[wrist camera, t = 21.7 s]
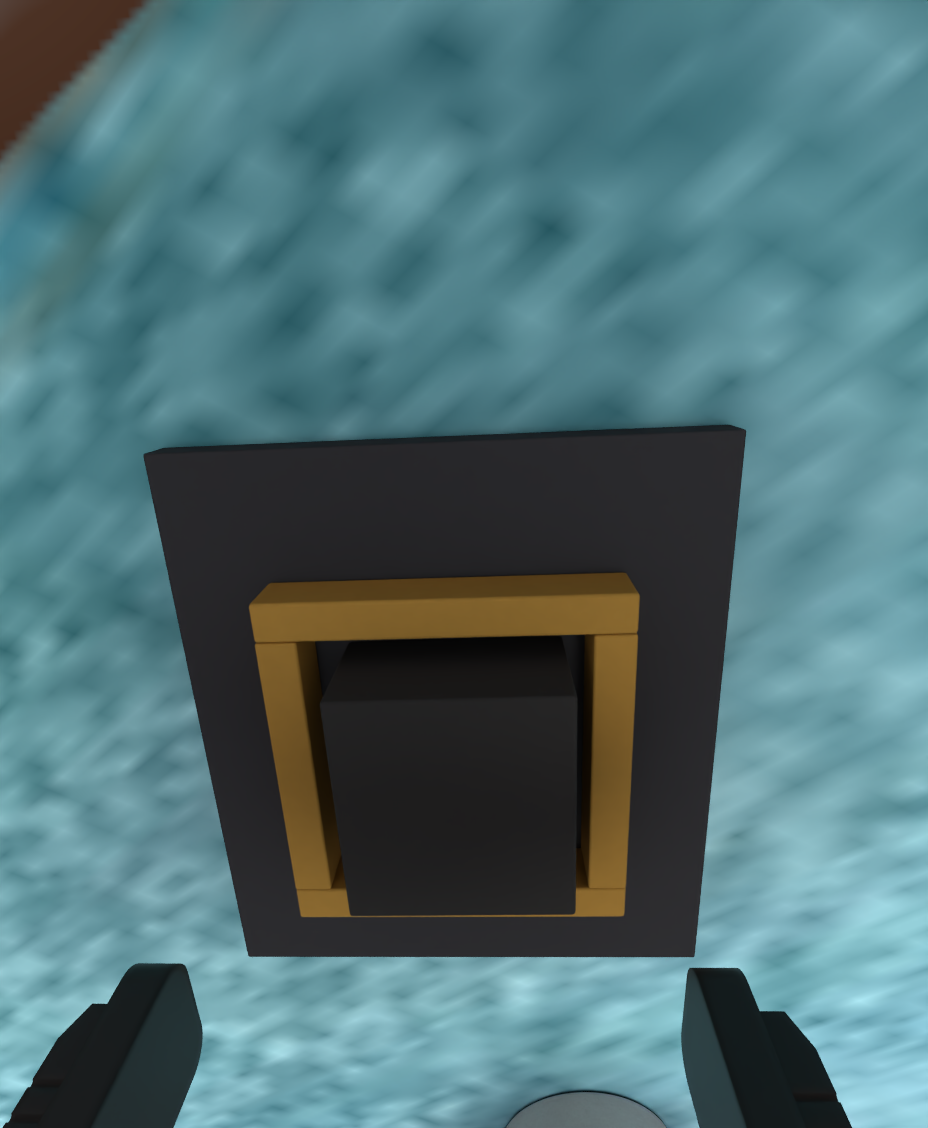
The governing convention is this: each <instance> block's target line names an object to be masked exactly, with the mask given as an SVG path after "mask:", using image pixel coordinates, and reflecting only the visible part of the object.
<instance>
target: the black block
mask: <svg viewBox="0 0 928 1128" xmlns="http://www.w3.org/2000/svg"><path fill="white" fill-rule="evenodd" d="M320 711H321V717H322V724H323V731H324V738H325V745H326V752H327V759H328V766H329V773H330V780H331V787H332V794H333V801H334V808H335V815H336V822H337V829H338V836H339V843H340V850H341V857H342V864H343V870H344V877H345V884H346V891H347V898H348V905H349V912H350V915H351V916H459V915H573V914H575V911H576V804H577V695H576V691H575V687H574V683H573V679H572V675H571V671H570V667H569V663H568V659H567V655H566V651H565V647H564V643H563V639H562V637H560V636H549V637H516V638H483V639H449V640H416V641H383V642H351V643H349V644H348V645H347V648H346V650H345V652H344V654H343V656H342V658H341V660H340V662H339V664H338V666H337V668H336V671H335V673H334V675H333V677H332V679H331V681H330V683H329V685H328V687H327V689H326V691H325V694H324V696H323V698H322V700H321V702H320Z"/></svg>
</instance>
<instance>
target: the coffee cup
mask: <svg viewBox="0 0 928 1128" xmlns="http://www.w3.org/2000/svg"><path fill="white" fill-rule="evenodd" d="M506 1128H666V1127H665V1125H664V1124H663V1123H662V1121H661V1120H660V1119H659V1118H658V1117H657V1116H656V1115H655V1114H653V1113H652V1112H651V1111H649V1110H648V1109H647V1108H645V1107H643V1106H641V1105H640V1104H638V1103H635V1102H633V1101H631V1100H628V1099H625V1098H622V1097H619V1096H615V1095H610V1094H604V1093H594V1092H577V1093H567V1094H561V1095H556V1096H552V1097H549V1098H546V1099H543V1100H540V1101H538V1102H536V1103H534V1104H532V1105H530V1106H528V1107H527V1108H525V1109H523V1110H522V1111H521V1112H519V1113H518V1114H517V1115H516V1116H515V1117H514V1118H513V1119H512V1120H511V1121H510V1123H509V1124H508V1125H507V1127H506Z"/></svg>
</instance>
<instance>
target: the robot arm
mask: <svg viewBox="0 0 928 1128" xmlns="http://www.w3.org/2000/svg"><path fill="white" fill-rule="evenodd" d="M202 1034H203V1033H202V1024H201V1020H200V1017H199V1013H198V1009H197V1005H196V1002H195V998H194V994H193V990H192V986H191V983H190V979H189V975H188V971H187V969H186V967H185V965H183V964H148V963H138V964H135V965H133V966H132V967H131V968H129V969H128V971H127V972H126V973H125V975H124V976H123V978H122V979H121V981H120V983H119V985H118V986H117V988H116V990H115V991H114V993H113V995H112V997H111V998H110V1000H109V1002H108V1004H92V1005H91V1006H90V1007H89V1008H88V1009H87V1010H86V1011H85V1012H84V1013H83V1014H82V1015H81V1016H80V1017H79V1018H78V1019H77V1020H76V1021H75V1022H74V1023H73V1024H72V1025H71V1026H70V1027H69V1028H68V1029H67V1030H66V1031H65V1032H64V1033H63V1034H62V1035H61V1036H60V1037H59V1038H58V1039H57V1041H56V1042H55V1044H54V1046H53V1047H52V1049H51V1051H50V1052H49V1054H48V1055H47V1057H46V1059H45V1060H44V1062H43V1063H42V1065H41V1067H40V1068H39V1070H38V1071H37V1073H36V1075H35V1076H34V1078H33V1083H32V1085H31V1087H28V1088H27V1089H26V1091H25V1092H24V1094H23V1096H22V1097H21V1099H20V1100H19V1102H18V1104H17V1105H16V1107H15V1109H14V1110H13V1112H12V1113H11V1114H12V1116H11V1119H10V1121H9V1122H8V1123H5V1125H4V1126H3V1128H173V1127H174V1125H175V1122H176V1120H177V1117H178V1115H179V1112H180V1110H181V1107H182V1105H183V1102H184V1100H185V1097H186V1095H187V1093H188V1090H189V1088H190V1085H191V1083H192V1080H193V1078H194V1075H195V1072H196V1069H197V1066H198V1062H199V1058H200V1054H201V1048H202ZM681 1042H682V1054H683V1061H684V1067H685V1073H686V1078H687V1082H688V1086H689V1090H690V1094H691V1097H692V1101H693V1105H694V1109H695V1112H696V1116H697V1120H698V1124H699V1127H700V1128H852V1126H851V1124H850V1122H849V1120H848V1118H847V1116H846V1113H845V1111H844V1109H843V1107H842V1105H841V1103H839V1102H838V1100H837V1096H836V1092H835V1089H834V1087H833V1085H832V1083H831V1081H830V1079H829V1076H828V1074H827V1072H826V1070H825V1068H824V1065H823V1063H822V1061H821V1059H820V1057H819V1055H818V1052H817V1050H816V1048H815V1047H814V1046H813V1045H812V1044H811V1043H810V1041H809V1040H808V1039H807V1038H806V1037H805V1035H804V1034H803V1033H802V1032H801V1031H800V1030H799V1028H798V1027H797V1026H796V1025H795V1024H794V1022H793V1021H792V1020H791V1019H790V1018H789V1016H788V1015H787V1014H786V1013H785V1012H782V1011H759V1009H758V1006H757V1004H756V1001H755V999H754V996H753V994H752V991H751V989H750V986H749V984H748V982H747V979H746V977H745V976H744V974H743V972H742V971H741V970H740V969H738V968H689V970H688V973H687V982H686V992H685V1002H684V1012H683V1022H682V1032H681Z"/></svg>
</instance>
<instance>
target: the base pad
mask: <svg viewBox="0 0 928 1128" xmlns="http://www.w3.org/2000/svg"><path fill="white" fill-rule="evenodd" d="M745 437H746V430H744V429H741V428H738V427H735V426H732V425H712V426H688V427H663V428H639V429H615V430H590V431H566V432H541V433H517V434H493V435H468V436H444V437H419V438H395V439H371V440H346V441H322V442H297V443H273V444H249V445H224V446H200V447H175V448H162V449H159V450H156V451H152V452H149V453H146V454H144V461H145V466H146V470H147V475H148V480H149V485H150V489H151V494H152V499H153V504H154V508H155V513H156V518H157V523H158V528H159V532H160V537H161V542H162V547H163V551H164V556H165V561H166V566H167V570H168V575H169V580H170V585H171V589H172V594H173V599H174V604H175V608H176V613H177V618H178V623H179V628H180V632H181V637H182V642H183V647H184V651H185V656H186V661H187V666H188V670H189V675H190V680H191V685H192V689H193V694H194V699H195V704H196V709H197V713H198V718H199V723H200V728H201V732H202V737H203V742H204V747H205V751H206V756H207V761H208V766H209V770H210V775H211V780H212V785H213V789H214V794H215V799H216V804H217V809H218V813H219V818H220V823H221V828H222V832H223V837H224V842H225V847H226V851H227V856H228V861H229V866H230V870H231V875H232V880H233V885H234V889H235V894H236V899H237V904H238V909H239V913H240V918H241V923H242V928H243V932H244V937H245V942H246V947H247V951H248V956H250V957H694V955H695V945H696V935H697V925H698V915H699V905H700V894H701V884H702V874H703V864H704V854H705V844H706V834H707V823H708V813H709V803H710V793H711V783H712V773H713V762H714V752H715V742H716V732H717V722H718V712H719V701H720V691H721V681H722V671H723V661H724V651H725V640H726V630H727V620H728V610H729V600H730V590H731V580H732V569H733V559H734V549H735V539H736V529H737V519H738V508H739V498H740V488H741V478H742V468H743V458H744V447H745ZM549 636H560V637H562V639H563V643H564V647H565V651H566V655H567V659H568V663H569V667H570V671H571V675H572V679H573V683H574V687H575V691H576V695H577V804H576V911H575V914H573V915H459V916H351V915H350V912H349V905H348V898H347V891H346V884H345V877H344V870H343V864H342V857H341V850H340V843H339V836H338V829H337V822H336V815H335V808H334V801H333V794H332V787H331V780H330V773H329V766H328V759H327V752H326V745H325V738H324V731H323V724H322V717H321V711H320V702H321V700H322V698H323V696H324V694H325V691H326V689H327V687H328V685H329V683H330V681H331V679H332V677H333V675H334V673H335V671H336V668H337V666H338V664H339V662H340V660H341V658H342V656H343V654H344V652H345V650H346V648H347V645H348V644H349V643H351V642H383V641H416V640H449V639H483V638H516V637H549Z"/></svg>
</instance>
